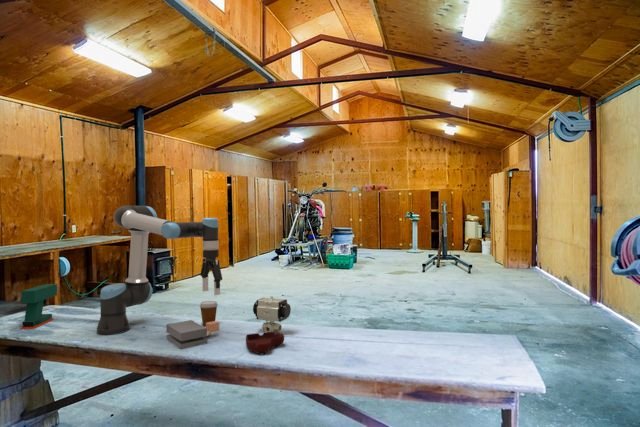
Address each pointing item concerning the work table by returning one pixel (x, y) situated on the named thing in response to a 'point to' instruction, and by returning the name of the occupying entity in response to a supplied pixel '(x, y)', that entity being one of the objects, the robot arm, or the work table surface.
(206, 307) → the disposable coffee cup
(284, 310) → the ball valve
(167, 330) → the block
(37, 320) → the power tool
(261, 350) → the ashtray
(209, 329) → the orange stepped block
